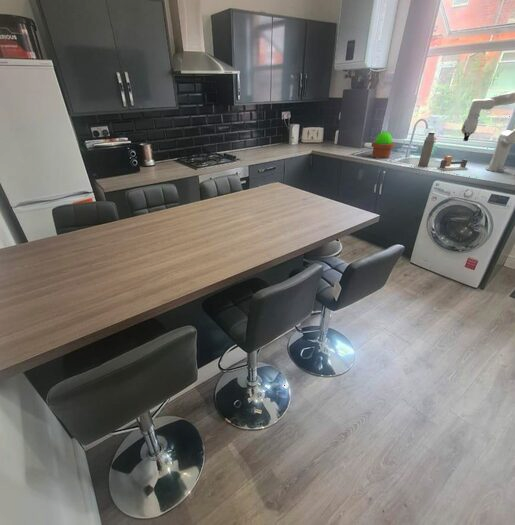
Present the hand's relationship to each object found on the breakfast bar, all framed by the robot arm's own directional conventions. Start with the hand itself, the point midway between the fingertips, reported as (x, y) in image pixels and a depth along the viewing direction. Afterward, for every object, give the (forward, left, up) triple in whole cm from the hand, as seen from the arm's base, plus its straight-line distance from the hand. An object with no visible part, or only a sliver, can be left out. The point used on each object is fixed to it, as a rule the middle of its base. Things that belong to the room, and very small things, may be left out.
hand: (465, 140), depth 247 cm
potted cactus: (+64, +37, -23) cm, 78 cm away
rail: (0, +4, -23) cm, 23 cm away
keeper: (0, +11, -20) cm, 23 cm away
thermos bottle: (+16, +21, -23) cm, 35 cm away
